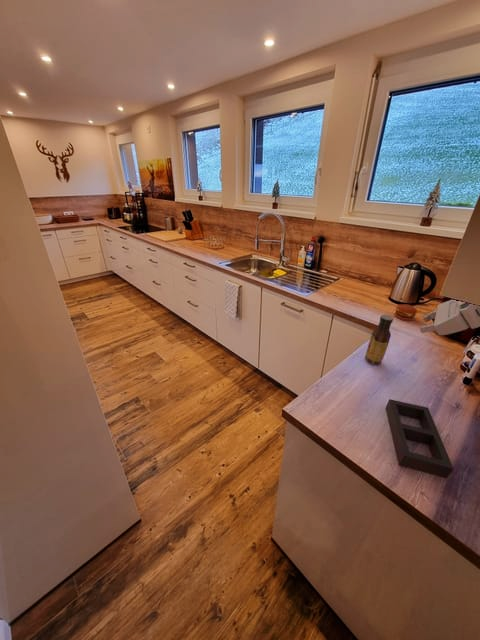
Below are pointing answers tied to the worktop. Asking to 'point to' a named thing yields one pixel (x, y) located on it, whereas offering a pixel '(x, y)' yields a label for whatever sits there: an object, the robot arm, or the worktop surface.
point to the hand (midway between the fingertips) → (422, 324)
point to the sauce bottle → (379, 341)
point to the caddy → (417, 439)
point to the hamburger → (405, 312)
